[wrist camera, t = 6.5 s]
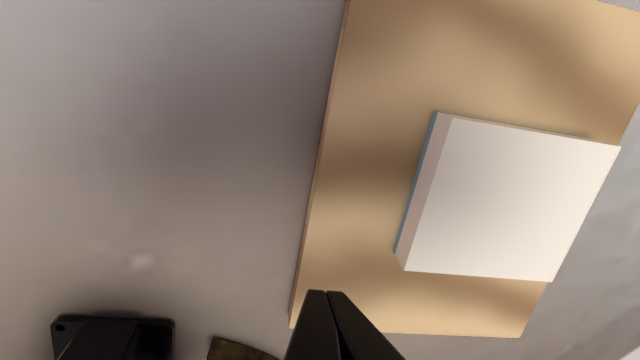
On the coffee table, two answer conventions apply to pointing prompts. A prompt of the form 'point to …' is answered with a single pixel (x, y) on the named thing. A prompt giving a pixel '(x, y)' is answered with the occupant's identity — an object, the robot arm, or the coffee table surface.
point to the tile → (498, 198)
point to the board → (412, 128)
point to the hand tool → (234, 352)
